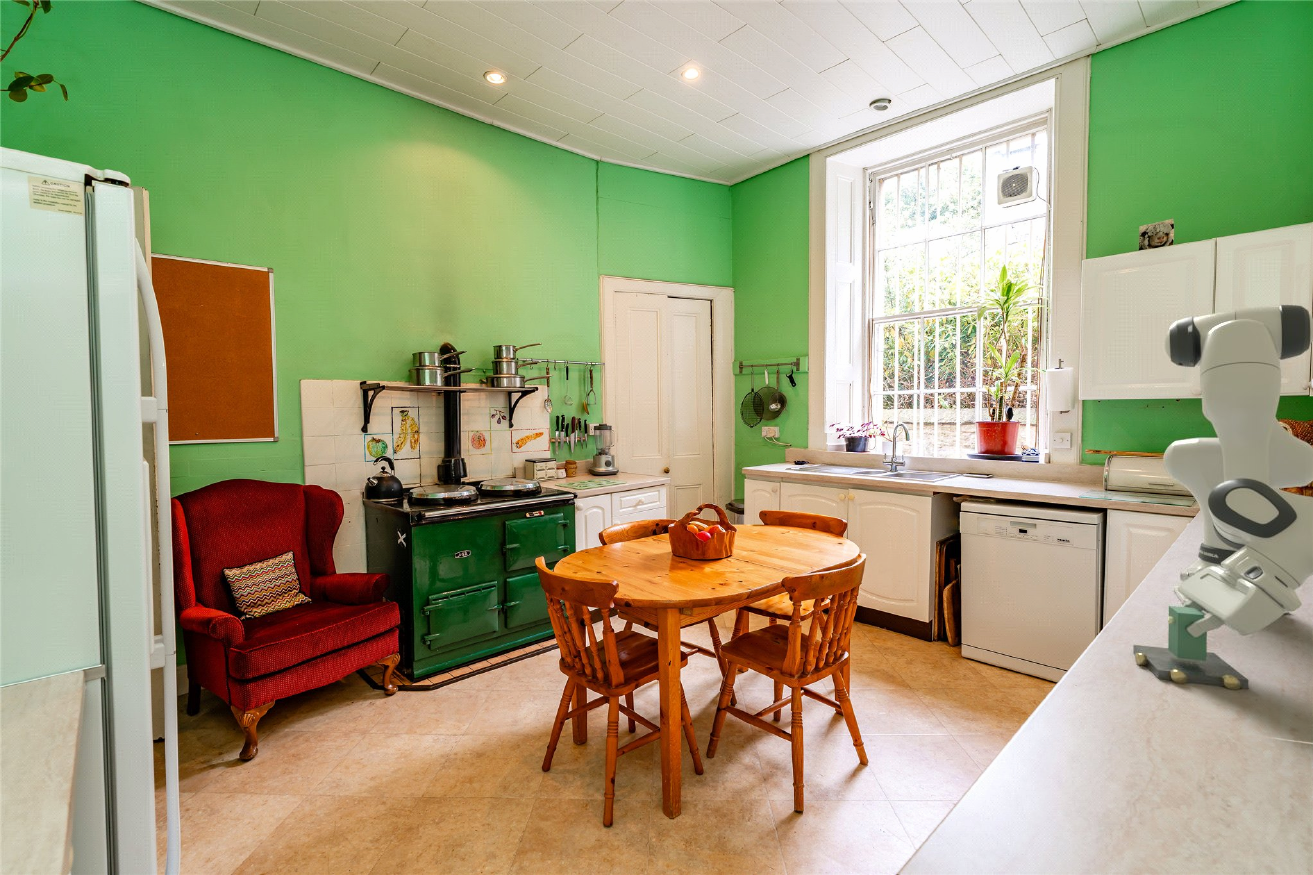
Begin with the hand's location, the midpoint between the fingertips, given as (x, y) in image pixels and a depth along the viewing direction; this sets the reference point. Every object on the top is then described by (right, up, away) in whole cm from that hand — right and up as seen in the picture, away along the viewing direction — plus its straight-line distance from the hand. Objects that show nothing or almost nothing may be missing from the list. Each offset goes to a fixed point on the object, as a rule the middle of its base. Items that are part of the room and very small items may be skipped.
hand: (1182, 627), depth 108 cm
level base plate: (+1, -7, 0) cm, 7 cm away
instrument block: (+1, -5, 0) cm, 5 cm away
